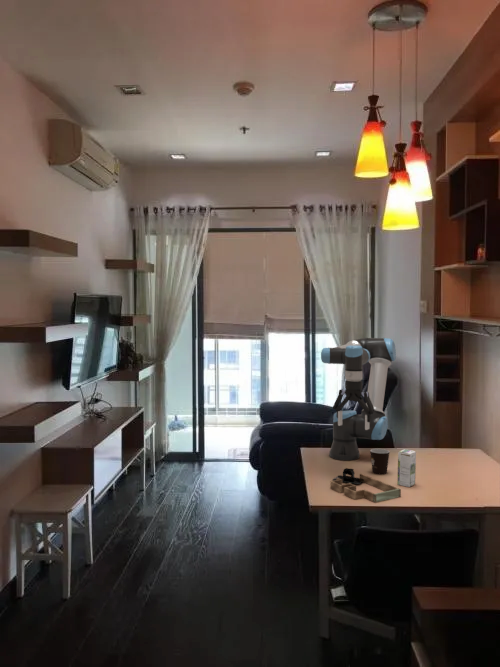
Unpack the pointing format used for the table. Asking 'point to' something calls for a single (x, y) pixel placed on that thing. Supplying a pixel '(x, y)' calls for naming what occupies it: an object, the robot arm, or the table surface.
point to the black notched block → (349, 477)
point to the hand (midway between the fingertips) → (353, 427)
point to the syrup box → (406, 468)
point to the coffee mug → (379, 460)
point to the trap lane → (352, 493)
